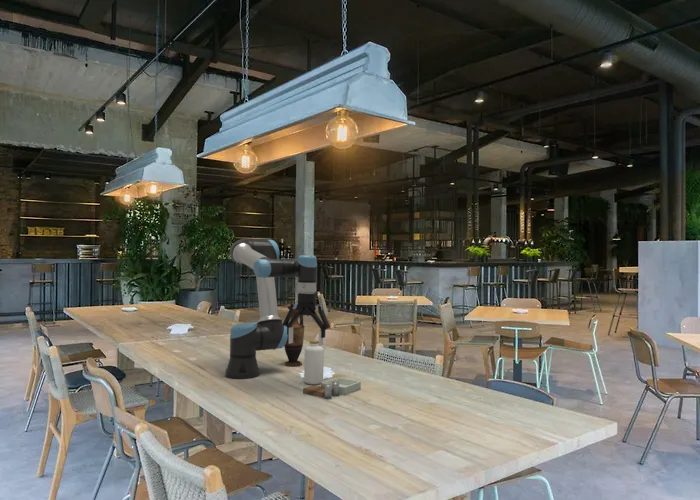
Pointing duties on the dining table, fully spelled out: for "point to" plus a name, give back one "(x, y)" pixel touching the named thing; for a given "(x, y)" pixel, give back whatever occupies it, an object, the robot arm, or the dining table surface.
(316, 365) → the potion bottle
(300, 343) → the vase
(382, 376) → the dining table surface
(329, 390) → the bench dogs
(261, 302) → the robot arm
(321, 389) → the tan wooden board
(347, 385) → the tray
